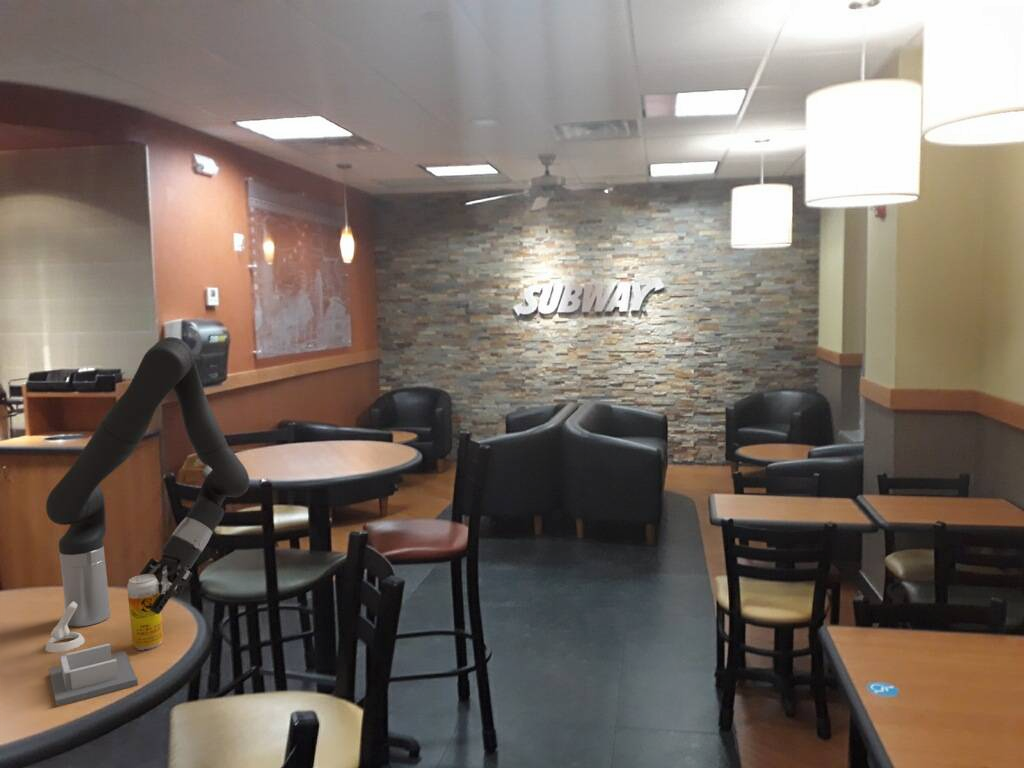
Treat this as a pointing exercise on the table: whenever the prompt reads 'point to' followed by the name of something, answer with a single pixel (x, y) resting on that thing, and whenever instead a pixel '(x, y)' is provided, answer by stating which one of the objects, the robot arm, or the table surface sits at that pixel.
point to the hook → (64, 633)
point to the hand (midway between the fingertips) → (143, 608)
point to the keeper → (91, 674)
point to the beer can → (144, 612)
